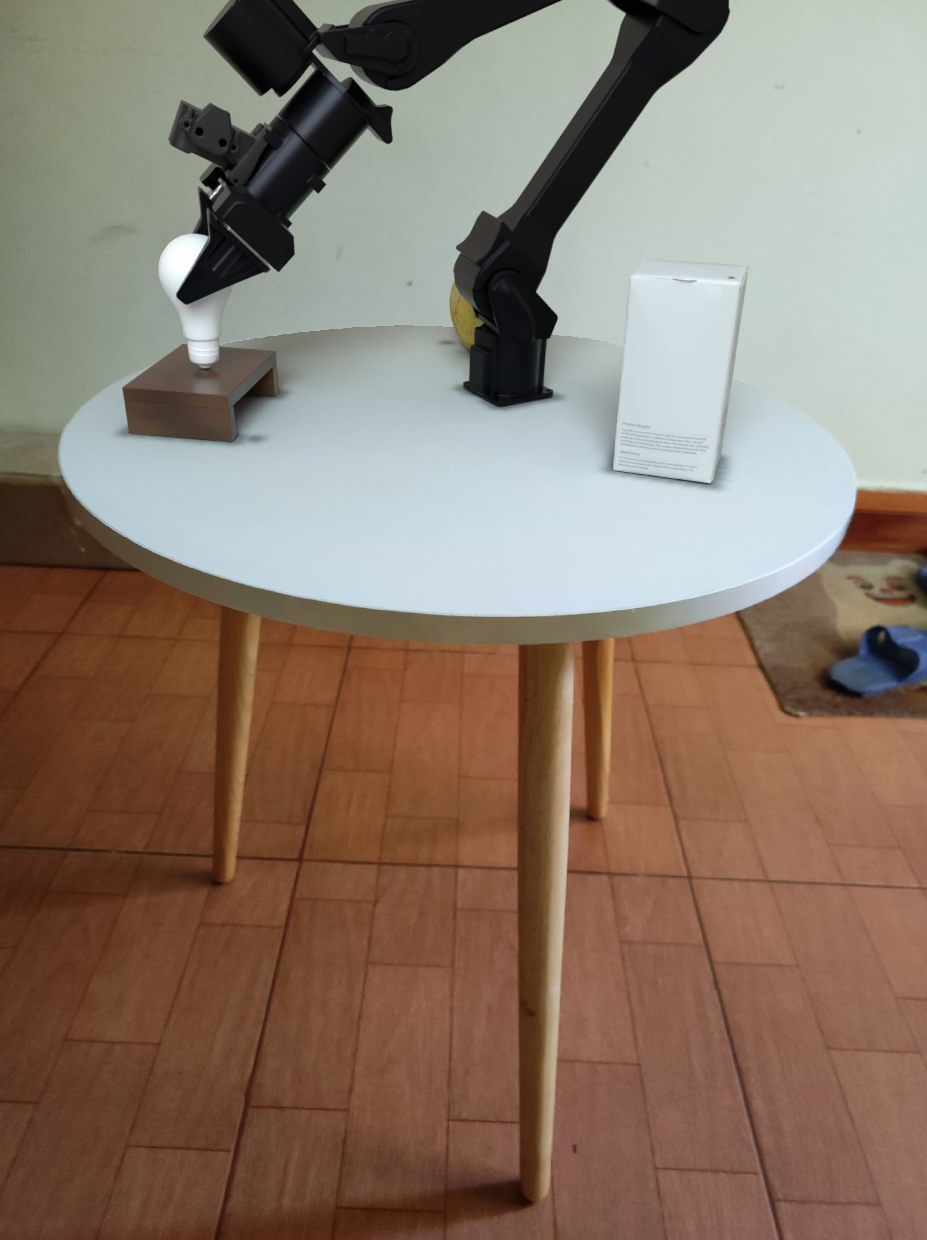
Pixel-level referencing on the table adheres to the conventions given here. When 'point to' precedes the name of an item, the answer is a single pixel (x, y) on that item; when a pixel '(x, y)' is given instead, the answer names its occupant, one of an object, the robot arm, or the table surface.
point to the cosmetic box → (677, 367)
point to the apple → (463, 317)
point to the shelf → (197, 393)
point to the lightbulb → (202, 314)
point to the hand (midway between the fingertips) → (178, 289)
